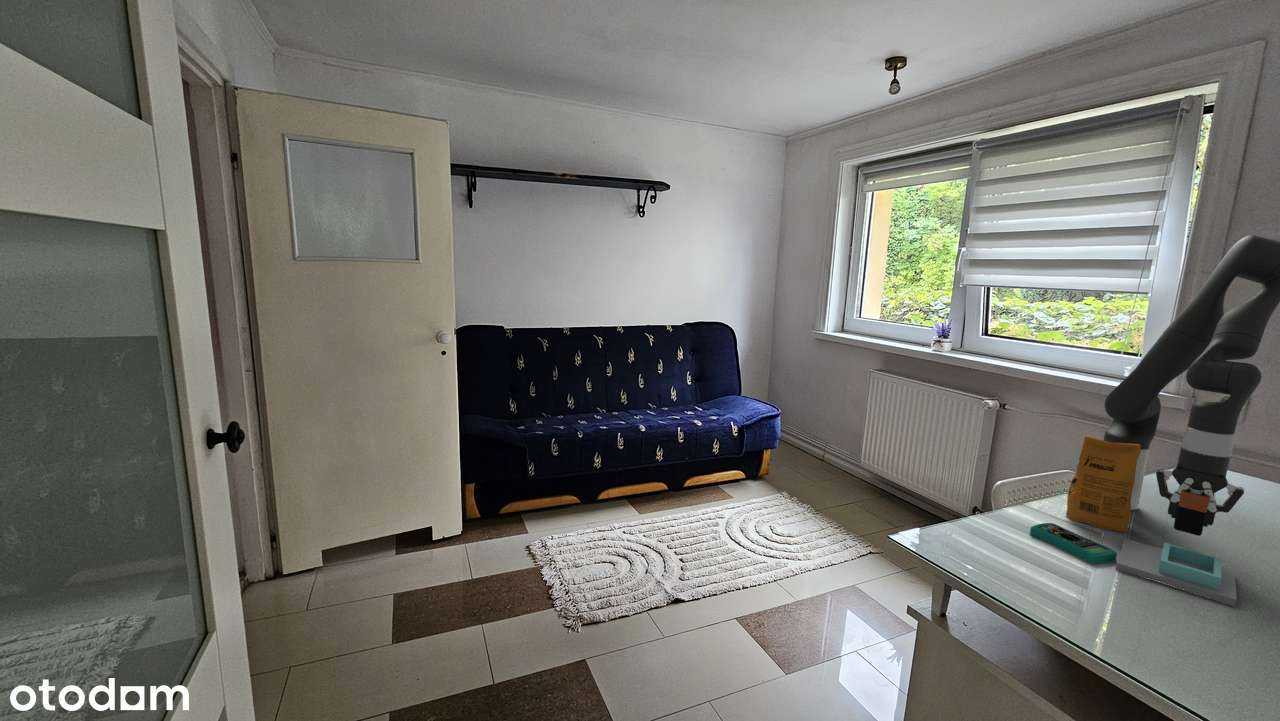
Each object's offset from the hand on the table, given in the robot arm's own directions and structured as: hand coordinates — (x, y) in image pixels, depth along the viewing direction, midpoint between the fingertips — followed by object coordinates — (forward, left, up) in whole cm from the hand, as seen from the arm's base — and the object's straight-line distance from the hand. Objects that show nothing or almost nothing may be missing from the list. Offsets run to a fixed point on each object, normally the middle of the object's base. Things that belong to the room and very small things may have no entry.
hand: (1189, 521), depth 117 cm
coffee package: (-16, +5, -8) cm, 19 cm away
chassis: (-1, -14, -8) cm, 16 cm away
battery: (0, 0, -2) cm, 2 cm away
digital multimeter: (-18, -17, -9) cm, 26 cm away
